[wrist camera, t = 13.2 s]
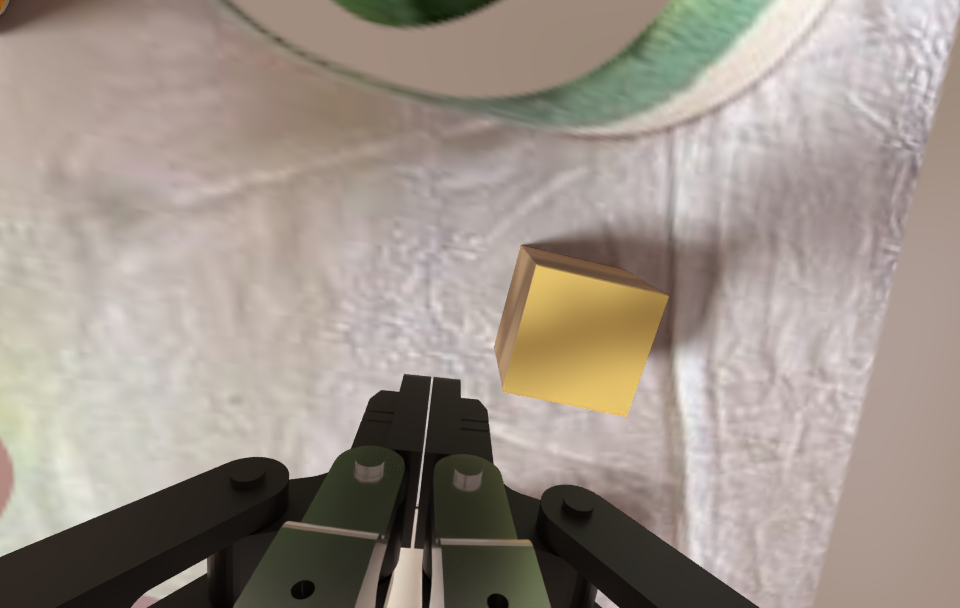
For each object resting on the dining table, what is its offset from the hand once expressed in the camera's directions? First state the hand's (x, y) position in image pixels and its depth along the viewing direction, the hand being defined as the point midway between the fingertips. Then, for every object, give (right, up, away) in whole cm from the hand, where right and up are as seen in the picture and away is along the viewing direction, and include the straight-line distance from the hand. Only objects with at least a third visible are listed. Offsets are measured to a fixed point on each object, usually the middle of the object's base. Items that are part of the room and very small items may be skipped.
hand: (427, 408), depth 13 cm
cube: (+6, +1, +9) cm, 11 cm away
